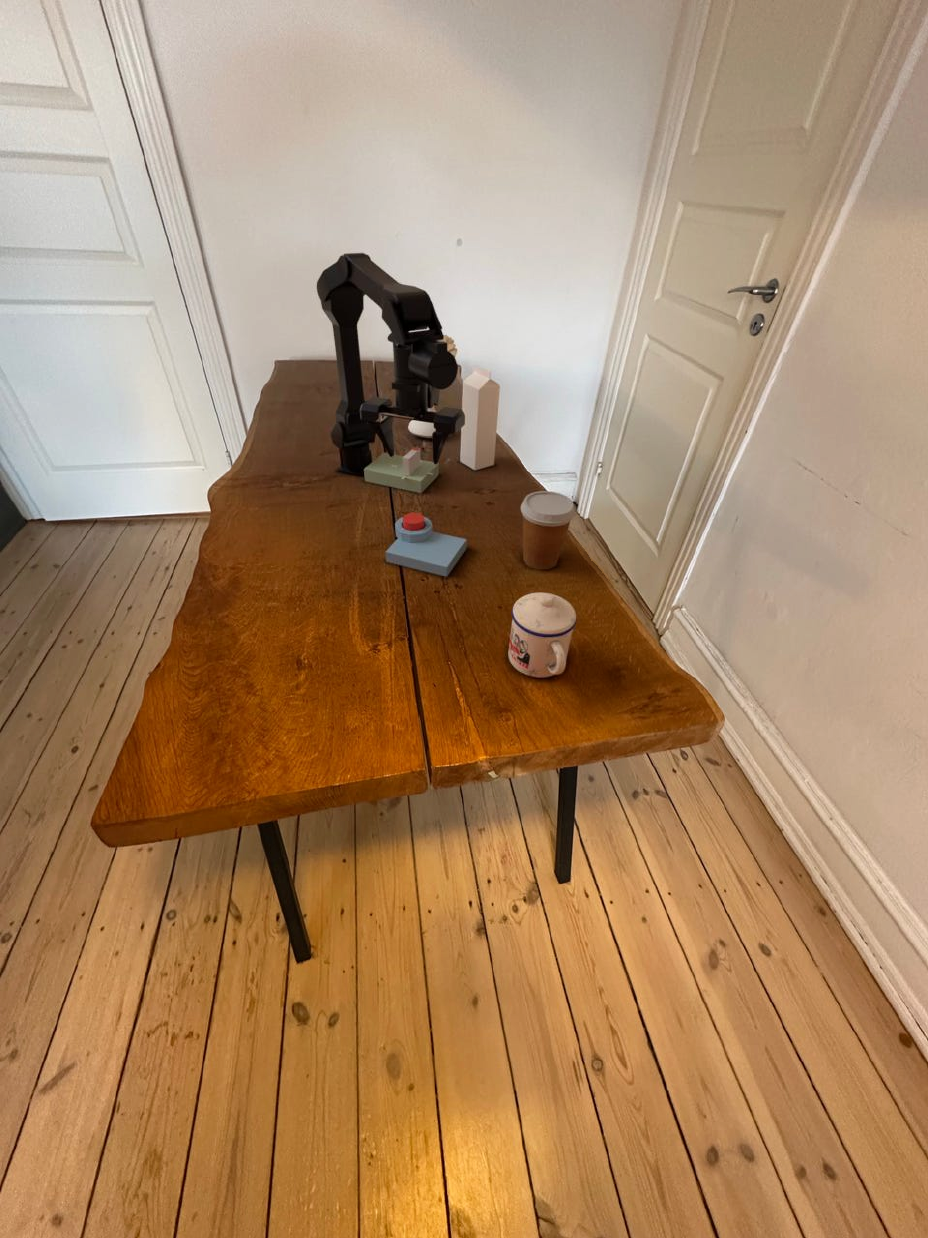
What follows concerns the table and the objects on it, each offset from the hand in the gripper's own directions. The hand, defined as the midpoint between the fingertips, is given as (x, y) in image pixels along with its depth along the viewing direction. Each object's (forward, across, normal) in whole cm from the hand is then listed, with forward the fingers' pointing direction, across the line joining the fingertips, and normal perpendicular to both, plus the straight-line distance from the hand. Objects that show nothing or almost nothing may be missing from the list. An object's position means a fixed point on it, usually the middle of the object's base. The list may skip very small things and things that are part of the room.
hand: (413, 459), depth 105 cm
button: (+9, -4, +9) cm, 13 cm away
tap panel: (+12, +10, -15) cm, 22 cm away
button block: (+13, -7, +11) cm, 18 cm away
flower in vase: (+12, +14, -42) cm, 46 cm away
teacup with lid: (+14, -34, +33) cm, 49 cm away
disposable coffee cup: (+13, -28, +6) cm, 31 cm away
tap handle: (+9, +7, -14) cm, 18 cm away
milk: (+12, -3, -30) cm, 32 cm away
